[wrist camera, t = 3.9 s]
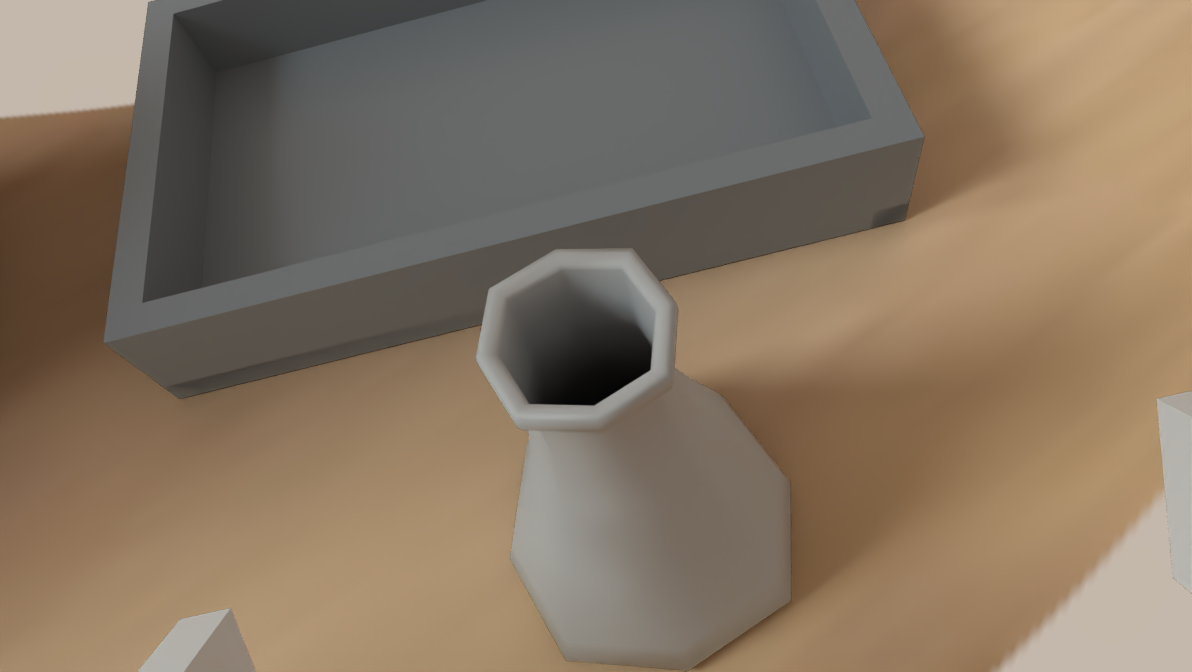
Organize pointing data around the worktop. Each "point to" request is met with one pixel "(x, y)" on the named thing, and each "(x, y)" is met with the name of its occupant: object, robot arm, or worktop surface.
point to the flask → (629, 470)
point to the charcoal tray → (472, 161)
